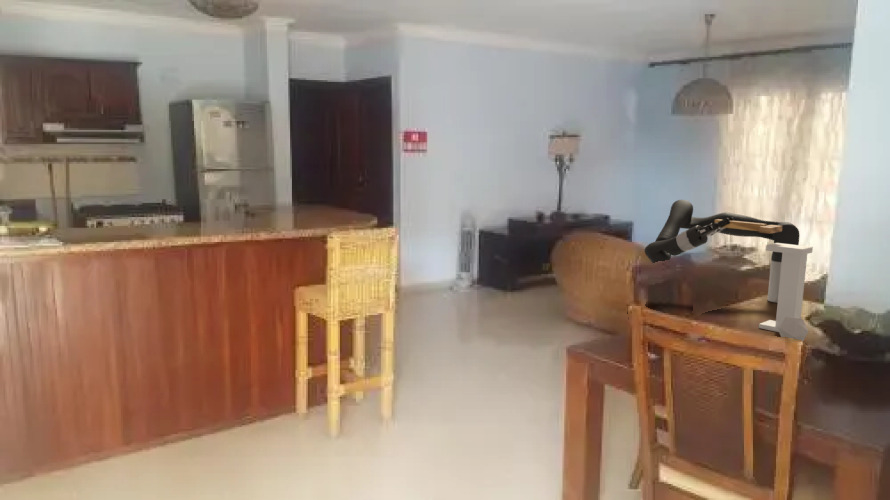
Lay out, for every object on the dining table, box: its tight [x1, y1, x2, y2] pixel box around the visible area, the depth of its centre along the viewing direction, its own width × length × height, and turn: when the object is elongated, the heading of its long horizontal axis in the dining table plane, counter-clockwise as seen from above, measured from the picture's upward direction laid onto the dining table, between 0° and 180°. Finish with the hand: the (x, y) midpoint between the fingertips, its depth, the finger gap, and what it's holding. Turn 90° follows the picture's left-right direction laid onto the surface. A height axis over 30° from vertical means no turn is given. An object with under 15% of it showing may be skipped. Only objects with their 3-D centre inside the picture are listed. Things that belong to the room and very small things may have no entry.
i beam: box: [758, 242, 814, 333], centre depth 240 cm, size 9×12×30 cm
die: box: [778, 317, 809, 342], centre depth 226 cm, size 8×9×10 cm
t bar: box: [715, 219, 783, 234], centre depth 248 cm, size 10×22×2 cm, turn 42°
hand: (731, 220), depth 252 cm, fingers closed on t bar, 3 cm apart
